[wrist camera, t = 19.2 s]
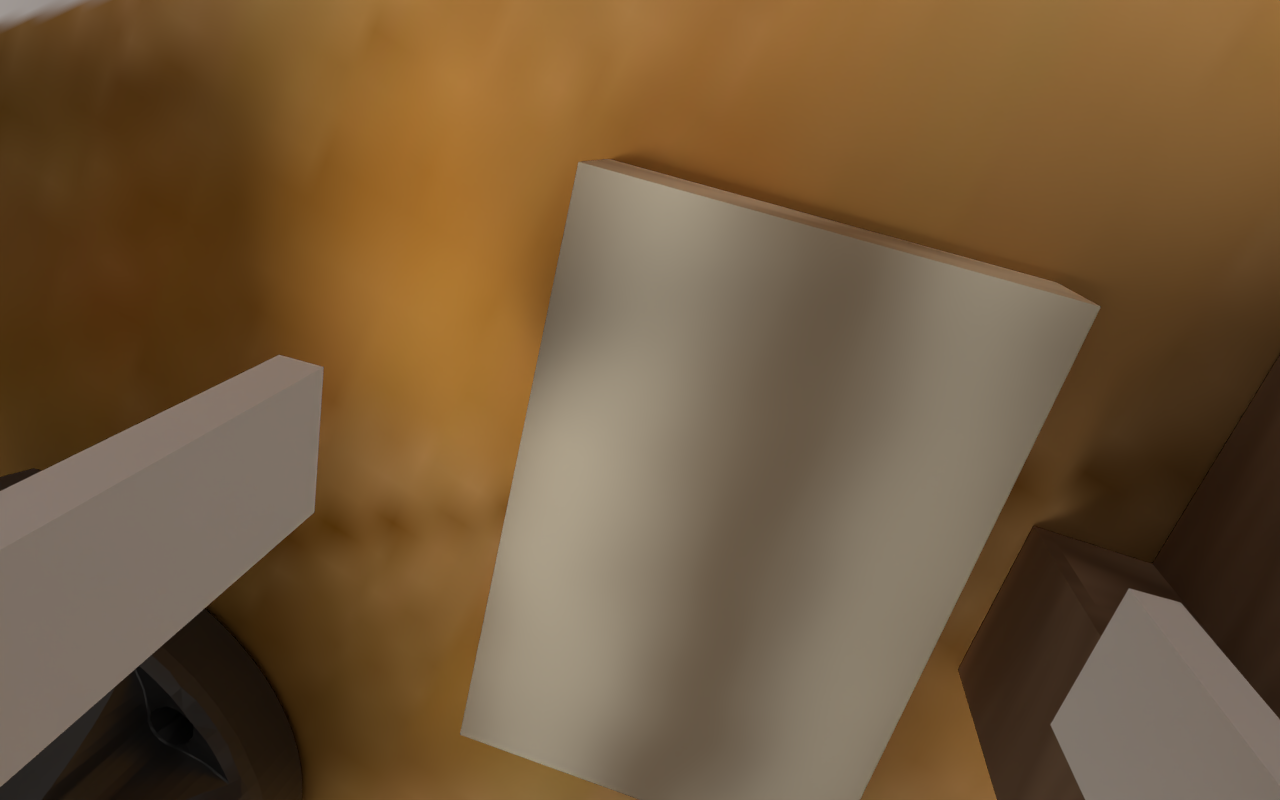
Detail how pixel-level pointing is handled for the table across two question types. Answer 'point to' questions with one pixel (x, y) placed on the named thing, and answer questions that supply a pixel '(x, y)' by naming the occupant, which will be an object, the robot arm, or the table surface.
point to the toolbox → (1093, 589)
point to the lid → (750, 488)
